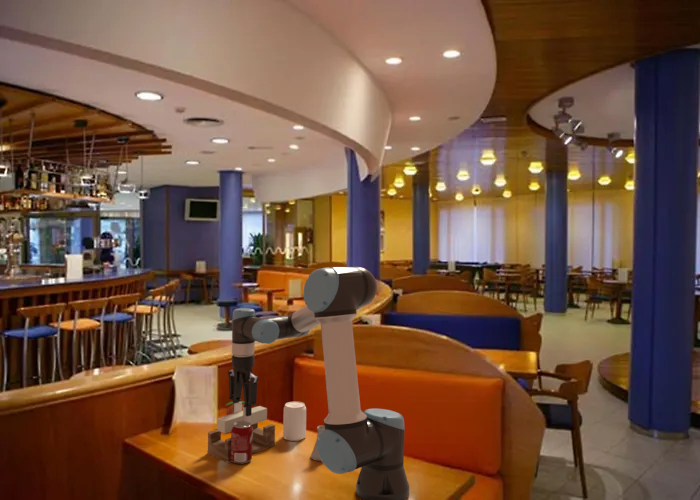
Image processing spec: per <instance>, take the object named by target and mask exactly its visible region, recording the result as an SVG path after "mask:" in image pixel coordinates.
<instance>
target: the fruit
mask: <svg viewBox="0 0 700 500" xmlns="http://www.w3.org/2000/svg"><path fill="white" fill-rule="evenodd" d="M239 402H242V411H243V406H244V405H245V402H244V400H242V401H239ZM224 406H226V407H227V410H226V414H225V416H227V415H230V414H234V410H233V401H230V402H228V403H226V404H225V405H224Z"/></svg>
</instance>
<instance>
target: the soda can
mask: <svg viewBox="0 0 700 500" xmlns="http://www.w3.org/2000/svg"><path fill="white" fill-rule="evenodd" d="M230 438H231V454H230V460H231V461H232V463H234V464H237V465H244V463H245V464H247V463H248V462H251V461H252V459H253V454H252V441H253V428H252V427H251V423H250V422H248V421H238V422H235V423H234V427H233V428H232V431H231V435H230Z"/></svg>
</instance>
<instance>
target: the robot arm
mask: <svg viewBox="0 0 700 500" xmlns="http://www.w3.org/2000/svg"><path fill="white" fill-rule="evenodd" d="M377 292H378V283H377V280H376V278H375V276H374V275H373V273H371V271H370V270H368V269H366V268H364V267H360V266H330V267H329V266H328V267H327V266H326V267H322V268H318V269H315V270H313V271H312V272H311V273H310V274H309V275H308V276H307V279H306V280H305V283H304V285H303V302H304V304H305V306H303V307H301V308H299V309H297V310H296V311H294V312H293V313H290V314H287V315H282V316H272V317H271V316H270V317H256V316H257V315H256V310H255V309H253V308H248V307H240V308H239V307H238V308H235V309H234V310H233V311H232V319H231V340H232V341H231V354H232V356H231V366H232V367H233V369H231V370H228V371H227V375H228V399H229V400H230V401H231V402H233V410H234V413H237V412H240V411H242V402H239V401H244V402H245V405H244V406H243V421H248V422H250V423H251V414H252V408H253V406H255V405H257V397H258V396H257V394H258V381H259V376H258V375H255V374H254V372H253V367H254V366H255V357H256V356H255V355H254V354H255V345H256V344H255V343H256V342H257V343H261V344H265V345H266V344H267V345H268V344H272V343H274V342H276V341H277V340H283V339H290V338H291V339H292V338H300V337H303V336H306V335H309V332H310V331H311V330H312V329H314V328H315V327H318V326H320V332H321V340H322V349H323V350H322V352H323V353H322V354H323V362H324V364H323V365H324V374H325V384H326V385H325V386H326V395H327V405H328V406H327V408H328V414H327V416H326V417H325V418H324V419H323V422H324V423H323V426H325V430H323V431H322V432H321V433H320V434H319V437H318V439H317V438H316V440H317V450H318V453H319V456H320V458H321V460H322V461H321V463H323V464H324V466H325V468H327V470H329V471H330V472H332V473H334V474H337V475H343V474H345V473H346V474H347V473H351V472H354V471H355V470H359V469H360V471H359V474H358V477H357V480H356V484H355V492H356V495H357V496H358V497H359V498H360V499H361V500H406V499H408V498H409V495H410V484H409V481H408V477H407V473H406V469H405V465H404V462H405V461H404V457H405V455H404V454H405V430H406V428H405V419H404V416H403V415H402V414H401V413H399V412H396V411H393V410H390V409H385V408H368V409H365V410H364V411H363V410H361V401H360V391H359V382H358V381H359V380H358V371H357V370H358V369H357V361H356V359H357V358H356V350H355V339H354V338H355V337H354V330H353V320H354V319H355V318H356V316H357V315H358V314H357V310H359V309H361V308H364V307H366V306H368V305H369V304H370V303H372V302H373V300H374V299H375V298H376V295H377ZM242 391H243V392H242ZM242 393H243V400H242V399H241V397H242Z"/></svg>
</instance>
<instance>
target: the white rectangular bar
mask: <svg viewBox="0 0 700 500" xmlns="http://www.w3.org/2000/svg"><path fill="white" fill-rule="evenodd" d="M267 420H268V408H267V407H264V406H262V405H259V406H254V407H252V414H251V425H252V424H256V423H258V424H259V423H261V422H262V423H263V422H264V421H267ZM238 421H243V411H240V412H237V413H234V414H230V415H227V416H226V415H223V416H221V417H217V420H216V423H217V424H216V430H218V431H220V432H221V434H227V433H230V432H231V431H232V428H233V427H234V423H235V422H238Z"/></svg>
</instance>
